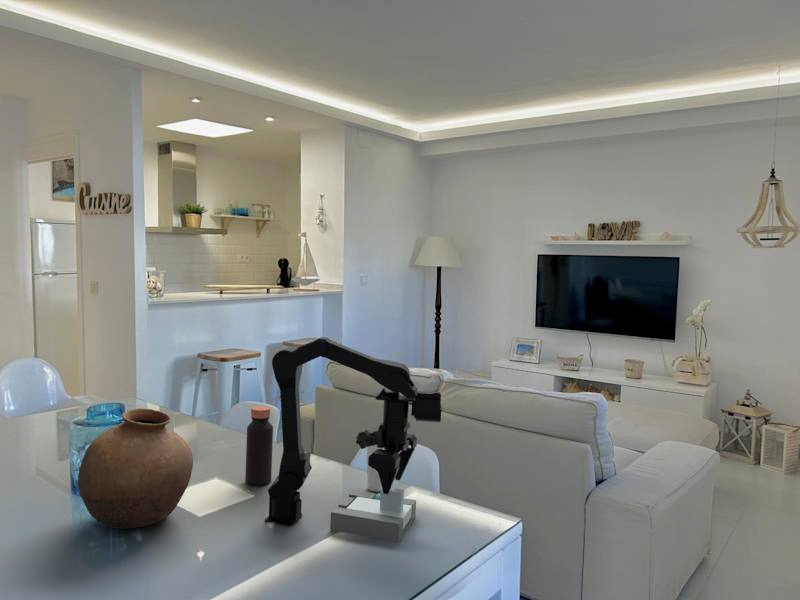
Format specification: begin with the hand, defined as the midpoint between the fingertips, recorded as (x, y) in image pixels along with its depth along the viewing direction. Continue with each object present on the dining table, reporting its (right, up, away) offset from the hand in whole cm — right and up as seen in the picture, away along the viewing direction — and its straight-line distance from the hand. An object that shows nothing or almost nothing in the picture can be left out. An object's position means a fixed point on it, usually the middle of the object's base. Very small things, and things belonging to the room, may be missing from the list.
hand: (392, 486), depth 135 cm
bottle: (-36, -6, +23) cm, 44 cm away
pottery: (-57, -7, -4) cm, 57 cm away
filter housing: (-4, -9, +2) cm, 10 cm away
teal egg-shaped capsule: (-2, -7, +7) cm, 10 cm away
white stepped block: (-3, -8, +1) cm, 8 cm away
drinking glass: (-4, -8, +22) cm, 24 cm away
